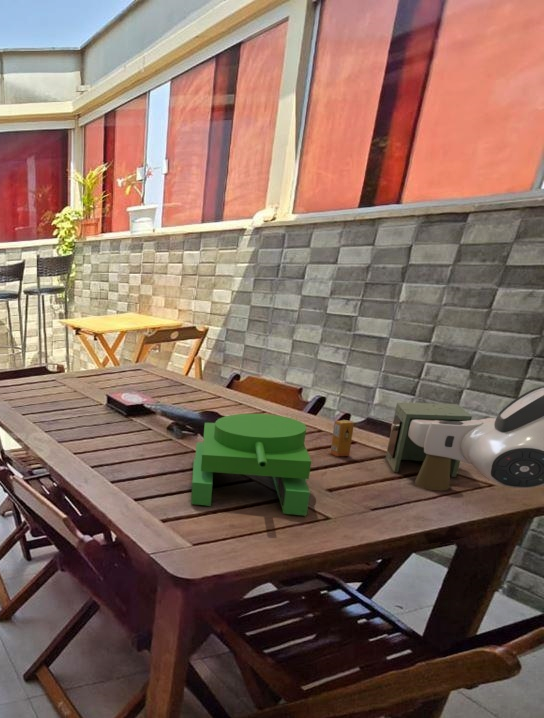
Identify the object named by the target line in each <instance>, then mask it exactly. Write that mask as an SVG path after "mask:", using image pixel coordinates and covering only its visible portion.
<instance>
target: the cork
mask: <svg viewBox="0 0 544 718" xmlns="http://www.w3.org/2000/svg"><path fill="white" fill-rule="evenodd" d="M450 464H451V459H450V458H445V457H440V456H434V455H429V454H427V455H426V458H425V460H424V461H422V464H421V467H420V469H419V471H418V474H417V476H416V479H415V481H414V484H415V485H416V486H417V487H419V488H422V489H426V490H430V491H447V490H449V489H450V480H451V479H450V478H451V475H450Z"/></svg>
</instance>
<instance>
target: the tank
mask: <svg viewBox="0 0 544 718" xmlns="http://www.w3.org/2000/svg"><path fill="white" fill-rule="evenodd" d="M203 427H204V428H203V440H202V441H203V442H202V441H198V442H196V445H195V446H196V447H195V454H194V460H193V464H192V480H191V481H192V482H191V493H190V496H191V497H190V505H198V506H208V507H209V506H210V507H211V506H212V495H213V482H214V481H213V479H214V473H221V474H233V475H235V474H236V475H245V476H246V475H247V476H259V477H260V476H262V477H271V478H272V480H273V483H274V487H275V490H276V494H277V497H278V501H279V503H280V506H281V510H282V514H284V515H293V516H294V515H295V516H304V517H306V516H308V509H309V502H310V495H311V491H310V489H309V486H308V483H307V480H309V479H310V473H311V466H312V459H311V457H310V455H309V452H308V449H307V447H306V445H305V440H306V435H307V434H306V433H307V425H306V424H305V423H304V422H302V421H300V420H297V419H295V418H291V417H288V416H284V415H283V416H282V415H276V414H269V413H266V414H265V413H237V414H231V415H226V416H222V417H219V418H217V420H216V421H214V422H204V426H203Z"/></svg>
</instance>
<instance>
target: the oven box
mask: <svg viewBox="0 0 544 718" xmlns="http://www.w3.org/2000/svg"><path fill="white" fill-rule="evenodd" d="M412 420H433V421H434V420H442V421H469V420H473V415H471V414H470V413H469V412H468V411H466V410H465V409H464V408H463V407H462V406H461V405H459V404H458V403H434V402H433V403H430V402H429V403H428V402H396V407H395V411H394V415H393V421H392V424H391V426H390V434H389V439H388V444H387V448H386V453H385V459H386V461H387V463H388V465H389V466H390V467H391V470H392V472H393V473H399V470H400V466H401V461H403V460H404V461H417V462H424V460H425V458H426V455H427V454H426V453H425V452H424V448H423V447H420V446H418V445H416V444H415V443H414V442H413V441H412V440H411V439H410V438H409V436H408V433H409V427H410V423H411V421H412ZM460 464H461V461H459V460H455V459H451V464H450V477H452V478H457V475H458V472H459V469H460V468H459V467H460Z"/></svg>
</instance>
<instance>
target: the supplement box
mask: <svg viewBox="0 0 544 718" xmlns="http://www.w3.org/2000/svg"><path fill="white" fill-rule="evenodd" d="M354 426H355V423H354V422H353V421H350V420H348V419H343V420H334V423H333V431H332V438H331V447H330V454H331V455H333V456H334V457H336V458H337V457H349V456H350V452H351V445H352V439H353V433H354Z"/></svg>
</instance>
